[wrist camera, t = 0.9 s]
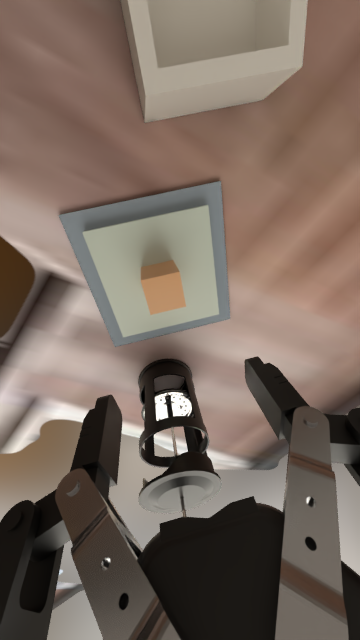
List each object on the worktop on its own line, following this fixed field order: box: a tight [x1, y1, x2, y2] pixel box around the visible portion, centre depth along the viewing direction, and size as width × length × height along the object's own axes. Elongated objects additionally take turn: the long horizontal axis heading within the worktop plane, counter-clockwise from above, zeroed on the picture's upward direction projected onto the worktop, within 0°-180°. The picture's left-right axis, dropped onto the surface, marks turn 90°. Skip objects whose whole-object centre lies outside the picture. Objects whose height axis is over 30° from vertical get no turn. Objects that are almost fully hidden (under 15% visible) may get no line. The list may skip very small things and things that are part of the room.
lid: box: [82, 205, 219, 337], centre depth 25 cm, size 14×14×6 cm
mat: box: [59, 181, 230, 347], centre depth 28 cm, size 18×18×1 cm
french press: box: [138, 359, 222, 517], centre depth 27 cm, size 12×9×23 cm
